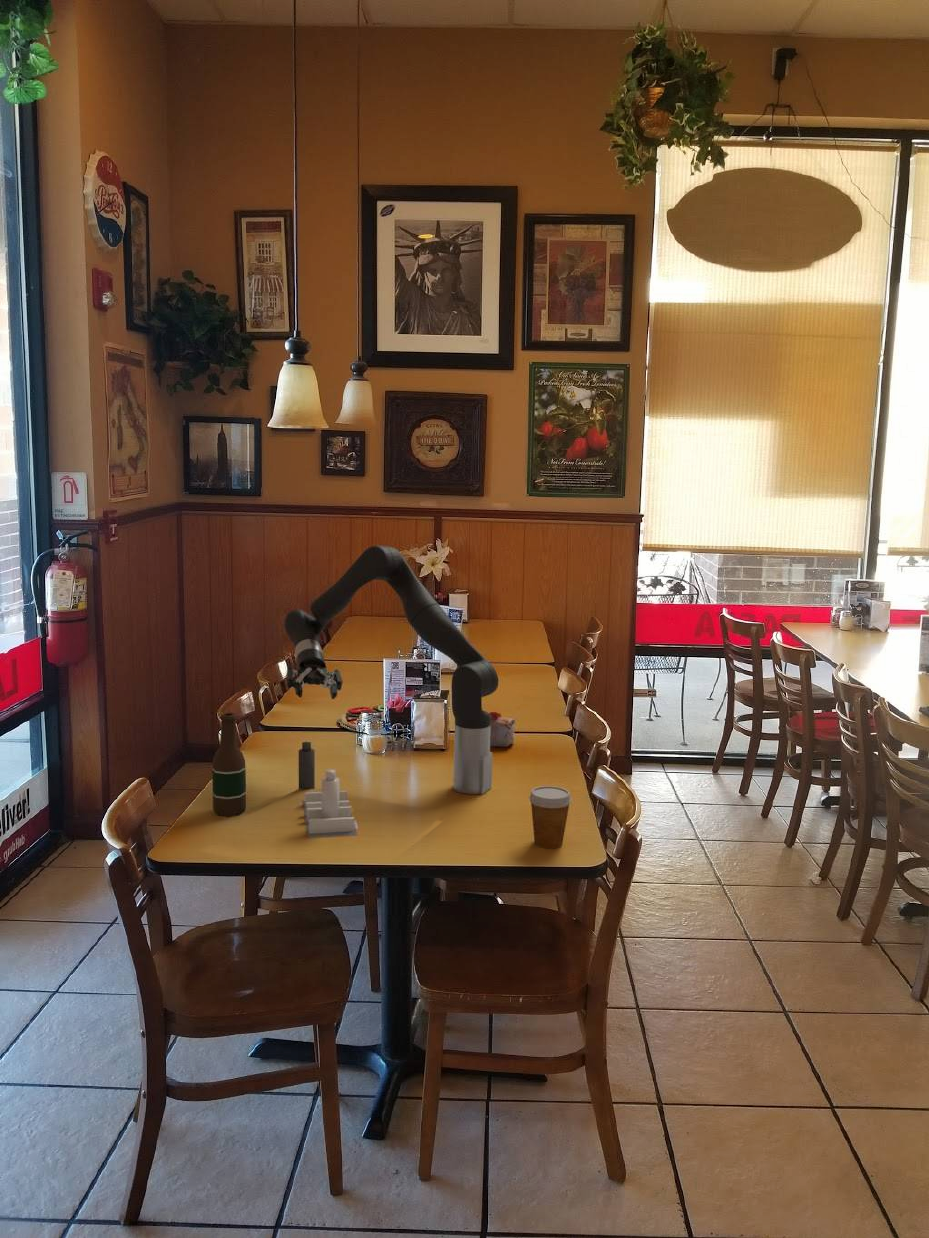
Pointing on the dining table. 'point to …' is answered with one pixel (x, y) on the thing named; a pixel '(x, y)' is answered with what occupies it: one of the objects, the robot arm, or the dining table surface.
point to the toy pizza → (356, 716)
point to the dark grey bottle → (306, 766)
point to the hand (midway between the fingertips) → (317, 695)
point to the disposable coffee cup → (549, 815)
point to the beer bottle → (228, 772)
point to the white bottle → (330, 795)
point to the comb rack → (328, 825)
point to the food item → (501, 730)
